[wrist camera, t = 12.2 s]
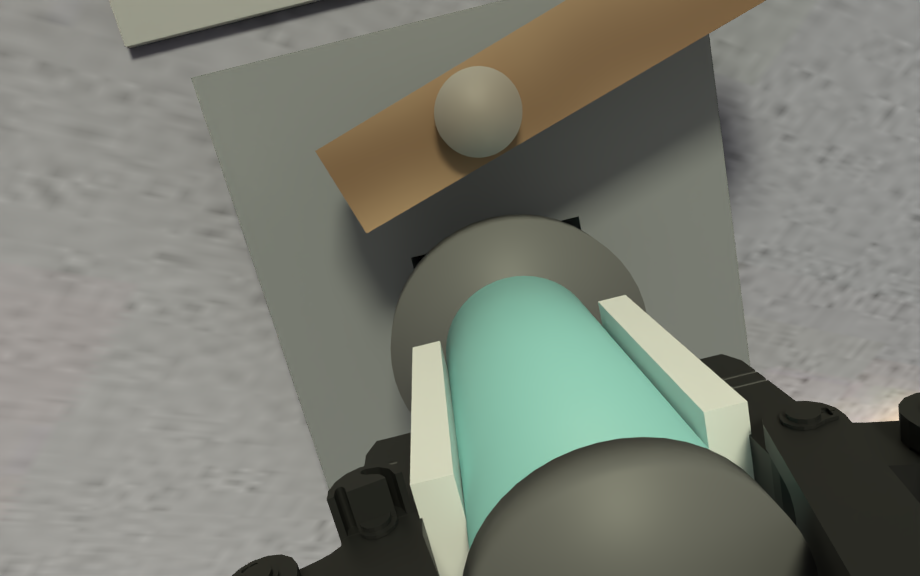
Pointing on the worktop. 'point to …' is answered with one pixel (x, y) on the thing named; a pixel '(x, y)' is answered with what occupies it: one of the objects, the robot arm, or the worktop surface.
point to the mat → (185, 16)
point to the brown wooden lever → (509, 96)
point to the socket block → (462, 204)
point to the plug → (573, 420)
